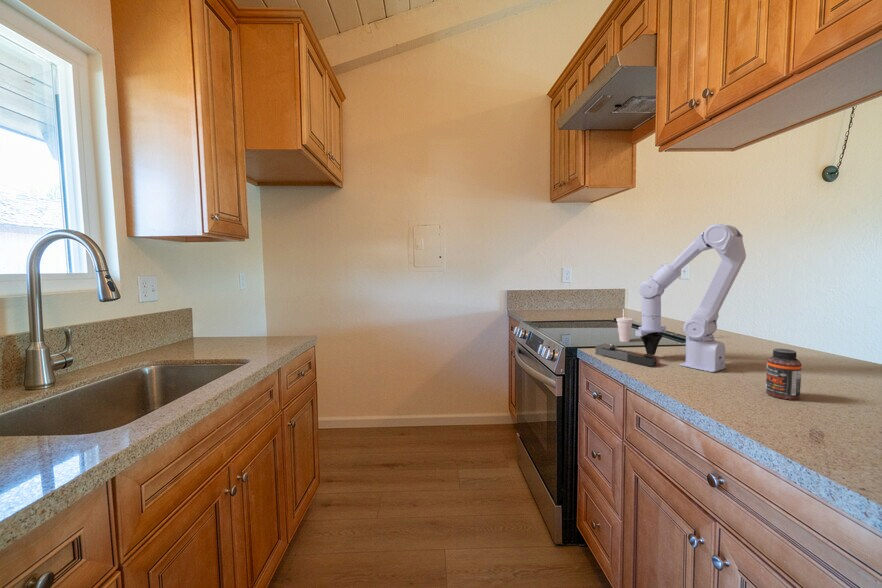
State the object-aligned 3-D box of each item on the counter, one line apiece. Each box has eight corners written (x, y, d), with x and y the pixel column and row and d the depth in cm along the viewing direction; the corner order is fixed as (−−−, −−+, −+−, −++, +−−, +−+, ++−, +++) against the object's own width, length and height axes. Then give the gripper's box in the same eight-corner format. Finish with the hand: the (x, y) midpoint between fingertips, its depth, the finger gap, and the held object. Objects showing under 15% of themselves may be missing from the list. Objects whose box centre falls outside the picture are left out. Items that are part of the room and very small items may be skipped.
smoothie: (612, 340, 150) (612, 308, 149) (622, 338, 153) (623, 307, 152) (626, 343, 144) (626, 309, 143) (636, 341, 147) (636, 308, 146)
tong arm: (660, 364, 113) (660, 356, 112) (656, 365, 111) (656, 357, 111) (611, 353, 128) (610, 346, 128) (606, 354, 127) (606, 347, 127)
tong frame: (659, 365, 112) (659, 352, 112) (651, 367, 110) (651, 354, 110) (602, 352, 131) (602, 341, 131) (594, 354, 129) (594, 343, 128)
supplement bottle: (759, 394, 86) (761, 349, 85) (774, 390, 88) (775, 346, 87) (791, 402, 80) (793, 354, 79) (805, 398, 82) (807, 351, 81)
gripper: (651, 312, 126) (651, 349, 127) (627, 316, 120) (626, 355, 121) (672, 314, 120) (671, 352, 121) (647, 318, 113) (647, 359, 114)
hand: (650, 354), depth 121 cm, fingers closed
